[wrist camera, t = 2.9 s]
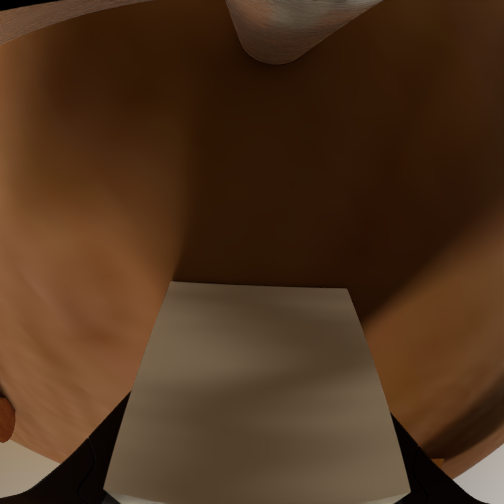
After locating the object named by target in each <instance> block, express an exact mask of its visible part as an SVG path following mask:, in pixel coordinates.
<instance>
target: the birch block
mask: <svg viewBox="0 0 504 504" xmlns="http://www.w3.org/2000/svg"><path fill="white" fill-rule="evenodd" d="M103 489H104V490H105V491H106V492H107V493H109V494H110V495H111V496H112V497H113V498H115V499H116V500H117V501H118V502H120V503H121V504H394V503H395V502H397V501H398V500H400V499H401V498H403V497H404V496H406V495H407V494H409V493H410V492H411V490H410V486H409V482H408V478H407V474H406V470H405V466H404V462H403V458H402V454H401V450H400V447H399V443H398V439H397V436H396V432H395V429H394V425H393V422H392V418H391V415H390V412H389V408H388V405H387V402H386V398H385V395H384V392H383V389H382V386H381V383H380V379H379V376H378V373H377V370H376V367H375V364H374V361H373V358H372V355H371V353H370V350H369V347H368V344H367V341H366V338H365V335H364V333H363V330H362V327H361V324H360V322H359V319H358V316H357V313H356V311H355V308H354V305H353V303H352V300H351V298H350V295H349V292H348V290H347V289H344V288H302V287H272V286H247V285H225V284H206V283H188V282H170V285H169V287H168V290H167V292H166V295H165V298H164V300H163V303H162V305H161V308H160V311H159V314H158V316H157V319H156V322H155V324H154V327H153V330H152V333H151V335H150V338H149V341H148V344H147V347H146V350H145V352H144V355H143V358H142V361H141V364H140V367H139V370H138V373H137V376H136V379H135V382H134V385H133V388H132V391H131V394H130V397H129V401H128V404H127V407H126V410H125V413H124V417H123V420H122V423H121V427H120V430H119V433H118V437H117V440H116V444H115V447H114V451H113V454H112V458H111V461H110V465H109V469H108V473H107V476H106V480H105V484H104V488H103Z"/></svg>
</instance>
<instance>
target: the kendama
mask: <svg viewBox="0 0 504 504" xmlns="http://www.w3.org/2000/svg"><path fill="white" fill-rule="evenodd" d="M14 426H15V411H14V409H13V408H12V406H11V405H10V403H9V402H8V400H7V399H6V398H4V397H0V442H2V443H4V442H6V441H8V440H9V439H10V437H11V436H12V433H13V430H14Z"/></svg>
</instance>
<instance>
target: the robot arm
mask: <svg viewBox="0 0 504 504" xmlns="http://www.w3.org/2000/svg"><path fill="white" fill-rule="evenodd" d="M131 391H132V390H131ZM131 391H130V392H129V393H128V394H127V395H126V397H125V398H124V399H123V400H122V401H121V402H120V403H119V404H118V405H117V406H116V407H115V409H114V410H113V411H112V412H111V413H110V414H109V415H108V416H107V417H106V418H105V419H104V420H103V422H102V423H101V424H100V425H99V426H98V427H97V428H96V429H95V430H94V431H93V432H92V434H91V435H90V436H89V439H88V438H87V439H86V440H85V441H84V442H83V443H82V444H81V445H80V446H79V447H78V448H77V449H76V450H75V451H74V452H73V453H72V454H71V455H70V456H69V457H68V458H67V459H66V460H65V461H64V462H63V463H62V464H60V465H59V466H58V467H57V468H56V469H54V470H53V471H52V472H51V473H50V474H48V475H47V476H46V477H45V478H43V479H42V480H41V481H40V482H39V483H37V484H36V485H35V486H33V487H32V488H31V489H29V490H27V491H25V492H23V493H20V494H17V495H13V496H8V497H3V498H0V504H121V503H120V502H118V501H117V500H116V499H115V498H113V497H112V496H111V495H110V494H109V493H107V492H106V491H105V490H104V489H103V488H104V484H105V480H106V476H107V473H108V469H109V465H110V461H111V458H112V454H113V451H114V447H115V444H116V440H117V437H118V433H119V430H120V427H121V423H122V420H123V417H124V413H125V410H126V407H127V404H128V401H129V397H130V394H131ZM389 412H390V411H389ZM390 415H391V418H392V422H393V425H394V429H395V432H396V436H397V439H398V443H399V447H400V450H401V454H402V458H403V462H404V466H405V470H406V474H407V478H408V482H409V486H410V490H411V492H410V493H409V494H407V495H406V496H404V497H403V498H401V499H400V500H398V501H397V502H395V503H394V504H488V503H484V502H481V501H479V500H477V499H475V498H473V497H472V496H470V495H469V494H468V493H466V492H465V491H464V490H463V489H462V488H461V487H460V486H459V485H457V484H456V483H455V482H454V481H453V480H452V479H451V478H450V477H449V476H448V475H446V474H445V473H444V472H443V471H442V470H441V469H440V468H439V467H438V466H437V465H436V464H435V463H434V462H433V461H432V460H431V459H430V457H429V456H428V455H427V454H426V453H425V452H424V451H423V450H422V448H421V447H420V446H418V444H417V443H416V441H415V440H414V439H413V438H412V437H411V436H410V434H409V433H408V432H407V431H406V430H405V429H404V427H403V426H402V425H401V424H400V423H399V422H398V420H397V419H396V418H395V417H394V416H393V415H392V414H391V412H390Z"/></svg>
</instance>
